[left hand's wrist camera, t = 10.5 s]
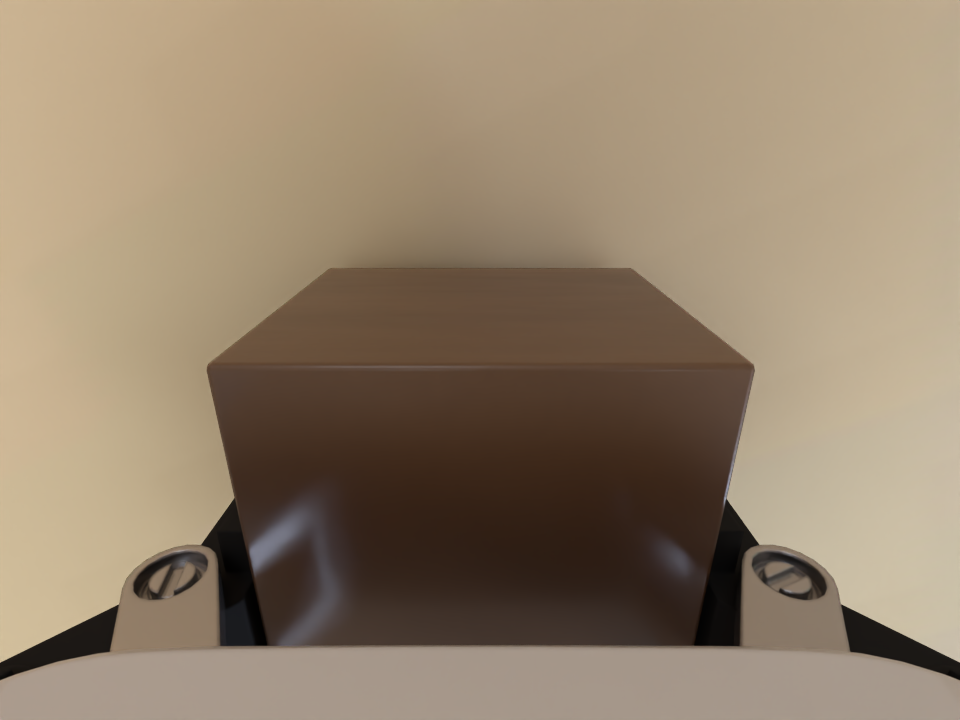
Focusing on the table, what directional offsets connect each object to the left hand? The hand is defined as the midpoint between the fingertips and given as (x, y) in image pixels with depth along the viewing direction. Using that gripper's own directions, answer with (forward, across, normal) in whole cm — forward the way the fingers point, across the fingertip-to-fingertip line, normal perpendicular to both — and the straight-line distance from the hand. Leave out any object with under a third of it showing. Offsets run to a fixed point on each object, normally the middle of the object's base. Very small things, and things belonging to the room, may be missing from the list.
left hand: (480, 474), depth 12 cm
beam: (+1, 0, +25) cm, 25 cm away
